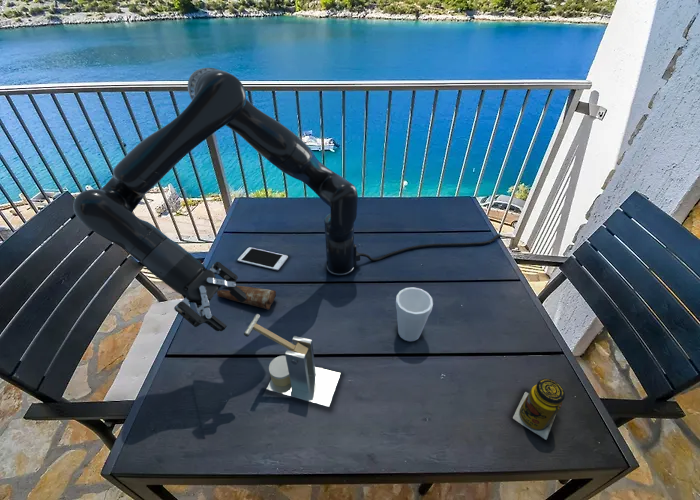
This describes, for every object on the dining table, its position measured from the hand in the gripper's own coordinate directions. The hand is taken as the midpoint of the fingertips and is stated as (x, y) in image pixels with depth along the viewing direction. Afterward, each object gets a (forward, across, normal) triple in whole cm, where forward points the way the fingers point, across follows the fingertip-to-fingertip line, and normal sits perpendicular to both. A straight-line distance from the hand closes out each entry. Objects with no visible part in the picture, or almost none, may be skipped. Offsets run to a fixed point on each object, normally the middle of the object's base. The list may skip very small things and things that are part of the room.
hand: (235, 313), depth 76 cm
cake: (+20, 0, +8) cm, 22 cm away
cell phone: (+3, +40, +27) cm, 49 cm away
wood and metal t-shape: (+11, 0, -2) cm, 11 cm away
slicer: (+25, 0, +5) cm, 25 cm away
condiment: (+63, +7, -33) cm, 72 cm away
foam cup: (+41, +23, -11) cm, 48 cm away
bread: (+6, +20, +24) cm, 32 cm away
